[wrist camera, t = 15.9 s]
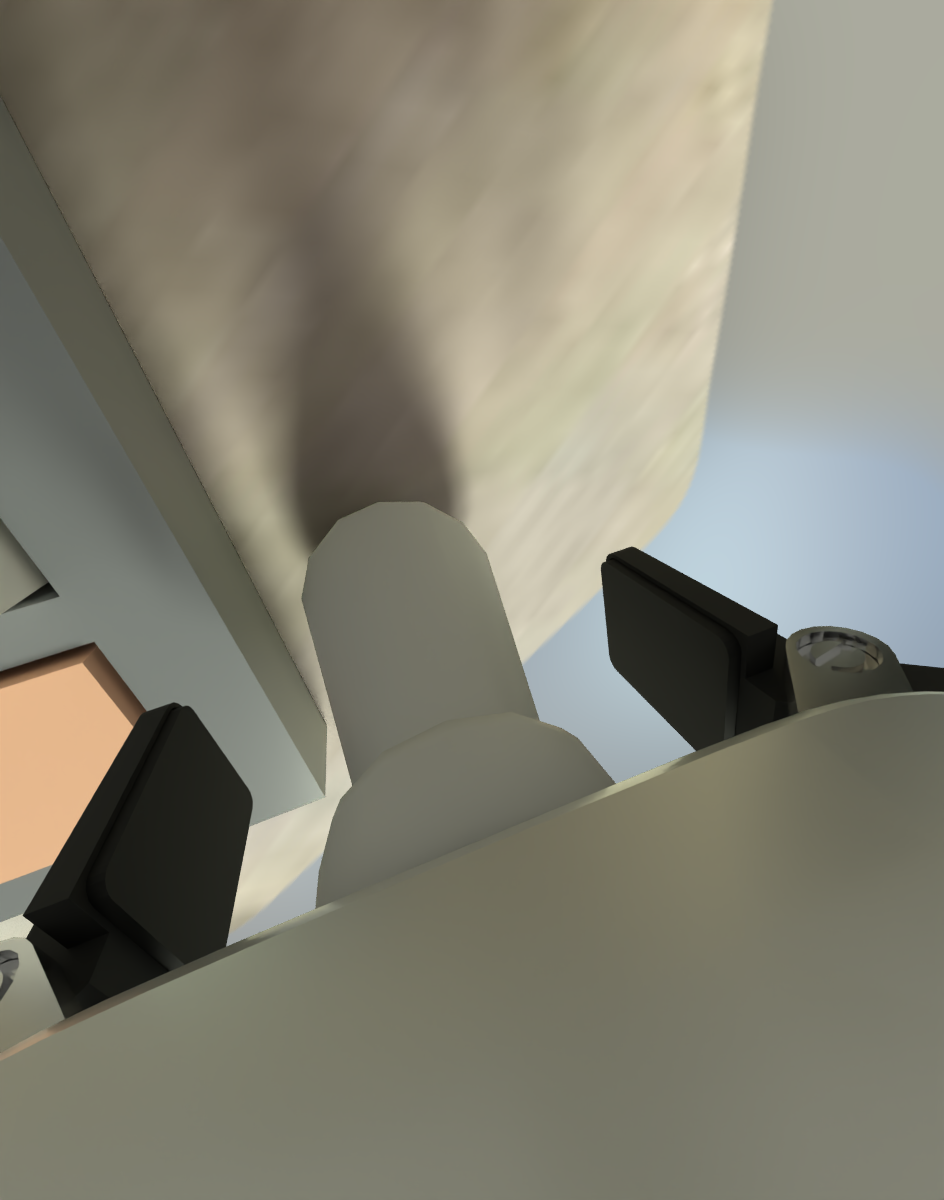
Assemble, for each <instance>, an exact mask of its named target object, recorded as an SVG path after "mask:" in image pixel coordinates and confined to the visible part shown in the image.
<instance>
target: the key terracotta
mask: <svg viewBox="0 0 944 1200" xmlns="http://www.w3.org/2000/svg"><path fill="white" fill-rule="evenodd" d="M144 712H146V709H145V708H144V707H143V705H142V704H141V703H140V701H139V700H138V699H137V697H136V696H135V695H134V694H133V692H132V691H131V690H130V688H129V687H128V686H127V684H126V683H125V682H124V680H123V679H122V678H121V676H120V675H119V674H118V672H117V671H116V670H115V668H114V667H113V666H112V665H111V663H110V662H109V661H108V659H107V658H106V657H105V655H104V654H103V653H102V651H101V650H100V649H99V647H98V646H97V645H96V643H95V642H92V643H89V644H85V645H82V646H79V647H76V648H73V649H70V650H66V651H63V652H60V653H57V654H54V655H51V656H47V657H44V658H41V659H38V660H35V661H32V662H28V663H25V664H22V665H19V666H16V667H13V668H9V669H6V670H3V671H0V884H2V883H5V882H7V881H10V880H13V879H15V878H18V877H21V876H23V875H26V874H29V873H31V872H34V871H37V870H39V869H42V868H45V867H47V866H50V865H53V863H54V861H55V860H56V858H57V856H58V855H59V853H60V851H61V850H62V848H63V846H64V844H65V843H66V841H67V839H68V838H69V836H70V834H71V832H72V831H73V829H74V827H75V826H76V824H77V822H78V821H79V819H80V817H81V815H82V814H83V812H84V810H85V809H86V807H87V805H88V804H89V802H90V800H91V798H92V797H93V795H94V793H95V792H96V790H97V788H98V786H99V785H100V783H101V781H102V780H103V778H104V776H105V775H106V773H107V771H108V769H109V768H110V766H111V764H112V763H113V761H114V759H115V757H116V756H117V754H118V752H119V751H120V749H121V747H122V746H123V744H124V742H125V740H126V739H127V737H128V735H129V734H130V732H131V730H132V729H133V727H134V725H135V723H136V722H137V720H138V718H139V717H140V715H141V714H142V713H144Z"/></svg>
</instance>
